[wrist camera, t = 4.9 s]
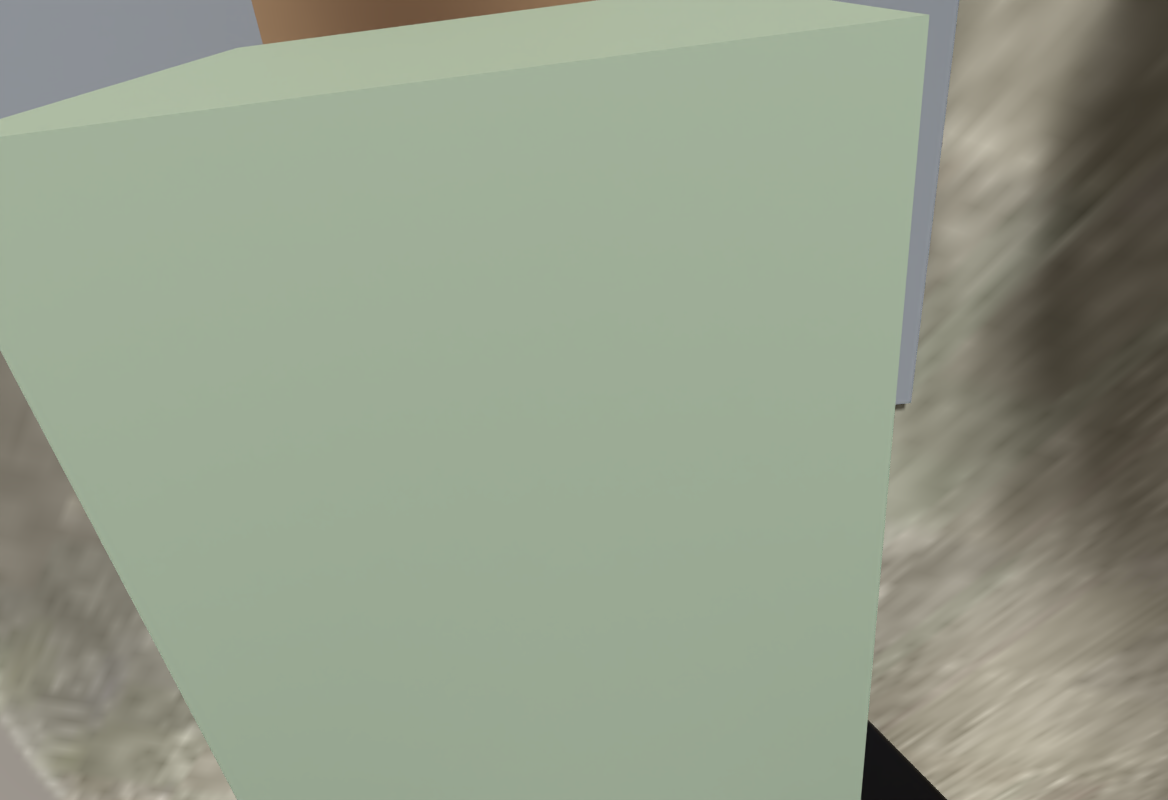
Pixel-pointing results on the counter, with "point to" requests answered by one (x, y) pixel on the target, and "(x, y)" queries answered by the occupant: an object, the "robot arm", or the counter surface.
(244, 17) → the mat
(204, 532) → the plank
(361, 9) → the brown wooden cube
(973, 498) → the counter surface
